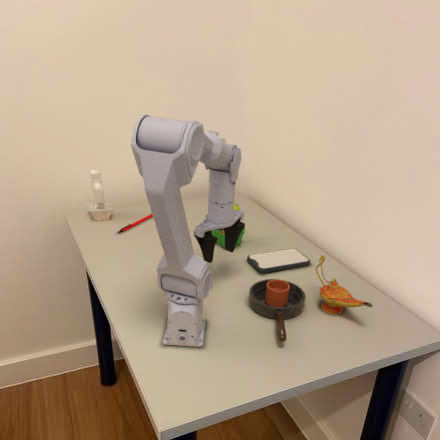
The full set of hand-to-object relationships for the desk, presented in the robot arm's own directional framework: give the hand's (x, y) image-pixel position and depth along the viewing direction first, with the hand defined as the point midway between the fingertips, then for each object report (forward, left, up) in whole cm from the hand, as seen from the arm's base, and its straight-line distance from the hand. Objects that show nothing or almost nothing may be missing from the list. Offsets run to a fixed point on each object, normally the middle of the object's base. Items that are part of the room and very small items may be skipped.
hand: (218, 255), depth 103 cm
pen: (+38, +27, -10) cm, 48 cm away
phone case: (+16, -16, -10) cm, 25 cm away
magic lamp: (-6, -28, -10) cm, 30 cm away
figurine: (+41, +40, -10) cm, 58 cm away
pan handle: (-16, -14, -8) cm, 23 cm away
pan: (-5, -14, -9) cm, 18 cm away
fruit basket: (+28, -1, -10) cm, 30 cm away
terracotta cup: (-5, -14, -9) cm, 17 cm away
